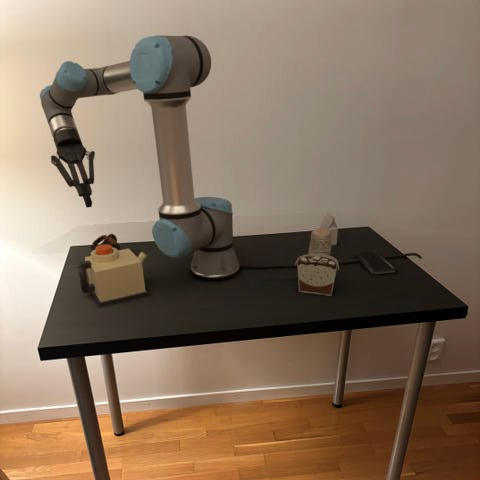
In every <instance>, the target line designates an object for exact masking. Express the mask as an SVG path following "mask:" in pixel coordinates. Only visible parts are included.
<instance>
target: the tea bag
mask: <svg viewBox="0 0 480 480" xmlns="http://www.w3.org/2000/svg"><path fill="white" fill-rule="evenodd" d="M320 229H326V230H329V231H330V232H331V235H332V243H331V246H338V245H337V244H338V233H339V228H338V226H337V223H336V218H335V216H333V215H332V214H330V212H328V211H326V213H325V215H324V217H323V219H322V221H321V223H320Z"/></svg>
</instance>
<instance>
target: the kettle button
mask: <svg viewBox="0 0 480 480" xmlns="http://www.w3.org/2000/svg"><path fill="white" fill-rule="evenodd" d="M96 253H97V255H108V254H111V253H112V246H111V245H107V244H104V245H100V244H98V245H97V246H96Z"/></svg>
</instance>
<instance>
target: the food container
mask: <svg viewBox="0 0 480 480" xmlns="http://www.w3.org/2000/svg"><path fill="white" fill-rule="evenodd" d="M338 261H339V260H337V259H336V258H335V257H333V256H332V255H330V256H329V255H325V254H308V253H307V254H303V255H301V256H299V257H297V259H296V261H295V263H294V264H295V266H296V265H297V267H296V269H297V280H298V281H297V282H298V292H300V293H306V294H314V295H323V296H328V297H329V296H330V297H332V294H333V290H334V285H335V281H336V275H337V270H338V271H340V264H338Z"/></svg>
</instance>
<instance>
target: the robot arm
mask: <svg viewBox="0 0 480 480" xmlns="http://www.w3.org/2000/svg"><path fill="white" fill-rule="evenodd" d="M211 69H212V57H211V53H210V51H209V49H208V47H207V46H206V44H205V43H204V42H203V41H202V40H200V39H199V38H197V37H195V36H191V35H158V34H156V35H153V36H146V37H143V38H141V39H140V40H138V41H137V42H136V44H135V45H134V48H133V49H132V51H131V54H130V57H129V60H128V61H123V62H119V63H115V64H111V65H106V66H101V67H95V68H93V67H92V68H84V67H83V66H82V65H80V64H79V63H77V62H74V61H71V60H66V61H64V62H62V64H61V65H60V67H59V69H58V70H57V71H56V73H55V77H54V79H53V82H52V84H51V85H47V86H45V88H42V89H41V90H40V93H39V99H40V104H41V108H42V110H43V112H44V116H45V118H46V121H47V124H48V127H49V130H50V134H51V136H52V138H53V142H54V145H55V149H56V153H55V154H53V155H51V156H50V163H51V164H52V165H53V166H55V167H56V169H57V170H58V172H59V173H60V175H61V177H62V178H63V180H64V181H65V183H66V184H67V186H68V187H69V188H73V187H74V188H75V190H76V192H77V194H78V195H77V196H78V197H79V198H80V197H82V198H83V201H84V205H85V208H92V207H93V200H92V197H91V196H92V195H93V189H92V187H91V185H94V183H95V165H94V164H95V163H94V160H95V156H96V152H95V151H94V150H91V151H89V150H87V149H86V147H85V146H84V145H83V141H82V138H81V136H80V133H79V131H78V128H77V124H76V121H75V119H74V116H73V113H72V110H73V108H74V107H75V105H76V102H77V101H78V100H79V99H84V98H91V97H92V98H93V97H101V96H112V95H116V94H119V93H124V92H129V91H130V92H131V91H134V90H138V91H140V92H141V93H142V95H143V100H144V102H145V103H146V104H148V105H149V107H150V108H151V109H150V110H151V118H152V124H153V133H154V140H155V148H156V158H157V164H158V173H159V180H160V181H159V182H160V189H161V197H162V203H161V205H160V206H159V207H158V209H157V211H158V217H159V219H158V220H156V221H155V222H154V225H153V226H152V228H151V229H152V230H151V233H152V238H153V241H154V243H155V245H156V247H157V248H158V249H159V250H160V251H161V253H162V254H164V256H167V257H168V258H170V259H175V260H176V259H177V260H179V259H182V258H185V257H188V256H190V255H192V254H193V253H194V254H193V257H192V260H191V262H190V271H191V275H192V276H193V277H194V278H196V279H198V280H202V281H207V282H208V281H210V282H218V281H225V280H229V279H232V278H233V277H236V276H237V275H239V273H240V271H241V269H240V268H252V269H272V268H297V265H296V266H295V264H296V263H281V264H280V263H279V264H247V263H240V261H239V260H238V259H239V258H238V257H237V254H236V252H235V248H234V234H233V233H234V230H233V228H234V224H233V214H234V212H233V206H232V203H231V201H230V200H228V199H226V198H222V197H216V196H199V197H198V196H197V197H195V190H194V178H193V169H192V158H191V147H190V146H191V145H190V136H189V125H188V113H187V103H188V102H189V101H190V100H191V98H192V92H191V91H192V90H191V88H194V87H197V86H200V85H201V84H203V83H204V82H205V81H206V80H207V78H208V77H209V75H210V73H211ZM85 157H86V159H87V160H88V174H87V170H86V168H85V165H84V162H83V161H84V159H85ZM63 163H65V164H66V165H67V167H68V169H69V172H70V173H69V172H68V170H67V169H66V167H65V165H64V164H63ZM75 165H76V166H75ZM76 167H77V169H78V171H79V174H80V177H79V175H78V172H77V169H76ZM80 178H81V180H82V182H81V181H80ZM382 256H383V257H384V258H385V259H391V258H405V257H411V256H413V257H416V258H418V259H421V260H422V259H423V257H422V255H420V253H416V252H408V253H397V254H396V253H395V254H387V255H382ZM337 261H338V264H339V265H344V264H353V263H359V262H360V261H361V259H357V258H356V259H347V260H337ZM360 263H361V262H360Z"/></svg>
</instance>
